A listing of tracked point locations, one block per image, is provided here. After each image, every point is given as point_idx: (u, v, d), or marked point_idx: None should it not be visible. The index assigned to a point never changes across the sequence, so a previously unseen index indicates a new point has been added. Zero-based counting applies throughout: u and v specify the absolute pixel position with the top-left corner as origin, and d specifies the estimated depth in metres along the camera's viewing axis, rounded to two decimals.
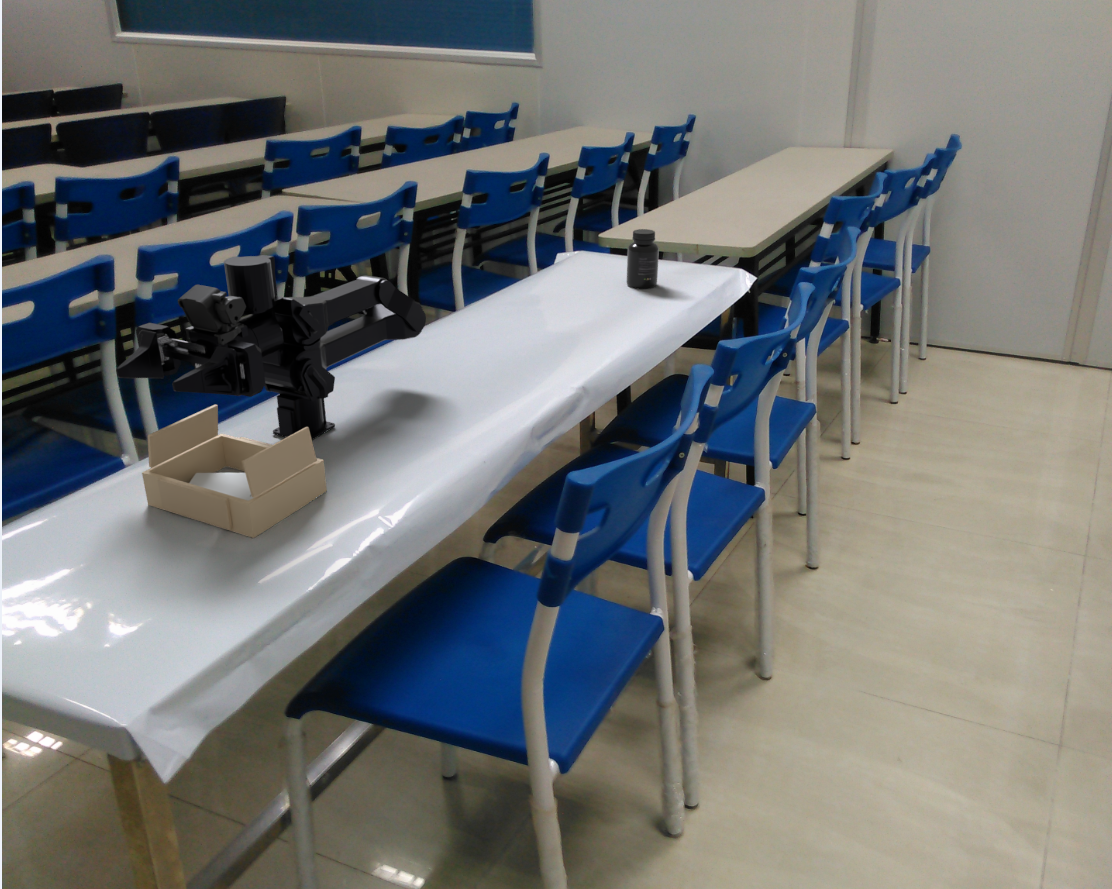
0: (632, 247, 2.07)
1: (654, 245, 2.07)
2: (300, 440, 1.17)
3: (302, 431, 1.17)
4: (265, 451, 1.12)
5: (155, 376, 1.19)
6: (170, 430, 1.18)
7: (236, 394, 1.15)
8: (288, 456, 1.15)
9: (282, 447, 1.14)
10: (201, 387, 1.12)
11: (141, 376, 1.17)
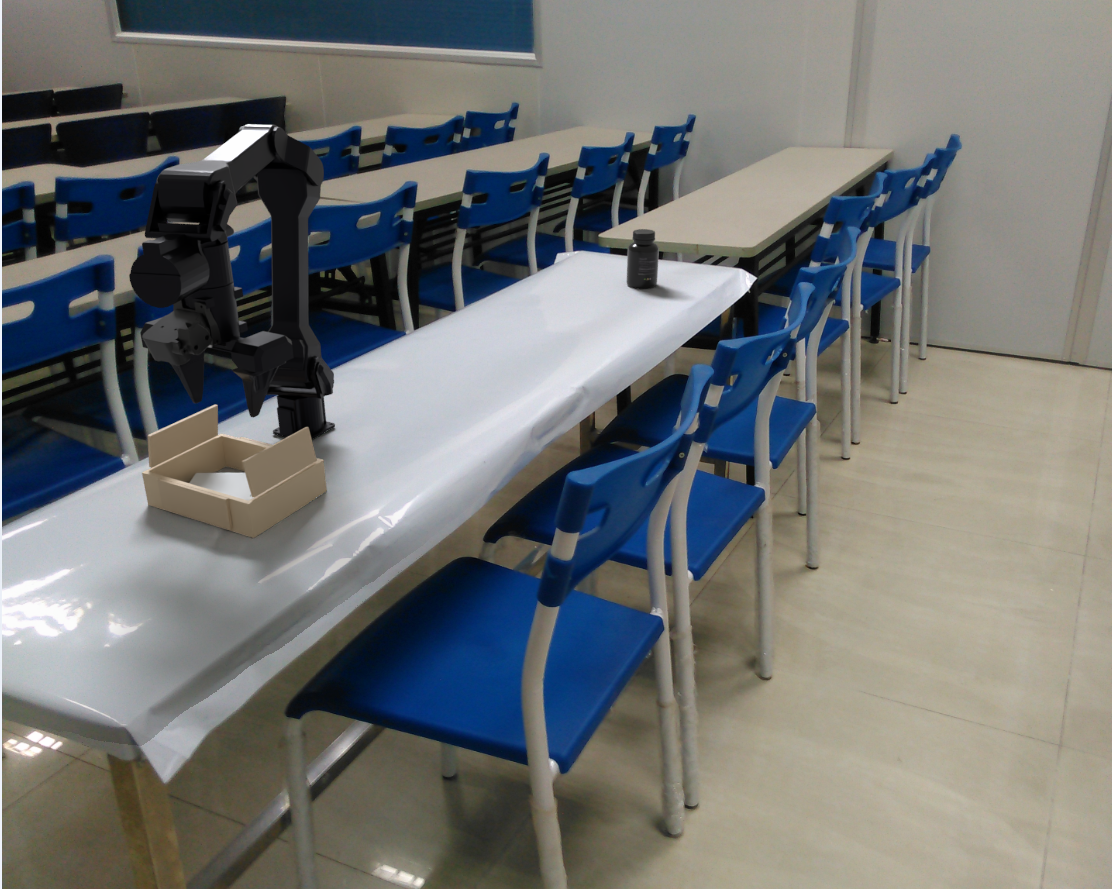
0: (632, 247, 2.07)
1: (654, 245, 2.07)
2: (300, 440, 1.17)
3: (302, 431, 1.17)
4: (265, 451, 1.12)
5: (203, 353, 1.17)
6: (170, 430, 1.18)
7: (283, 362, 1.12)
8: (288, 456, 1.15)
9: (282, 447, 1.14)
10: (264, 391, 1.13)
11: (202, 373, 1.17)
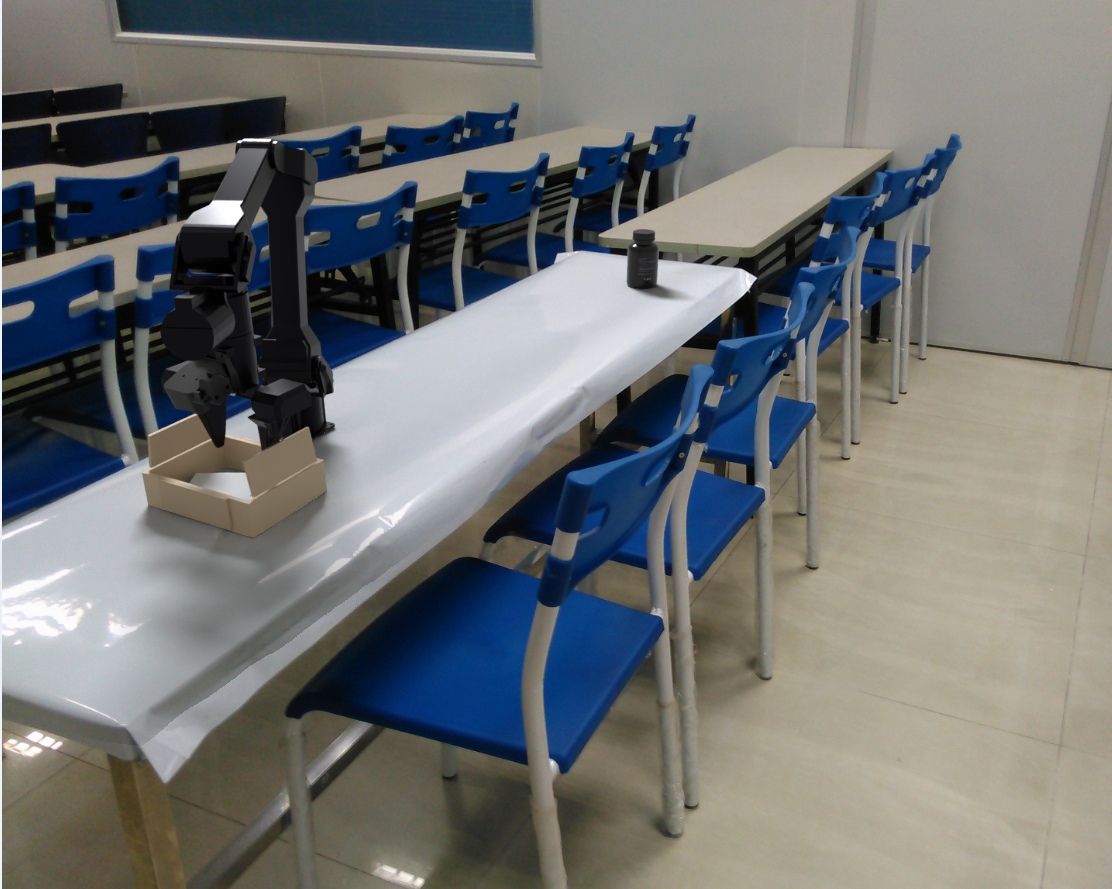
0: (632, 247, 2.07)
1: (654, 245, 2.07)
2: (300, 440, 1.17)
3: (302, 431, 1.17)
4: (265, 451, 1.12)
5: (225, 399, 1.18)
6: (170, 430, 1.18)
7: None
8: (288, 456, 1.15)
9: (282, 447, 1.14)
10: (278, 436, 1.14)
11: (225, 418, 1.18)
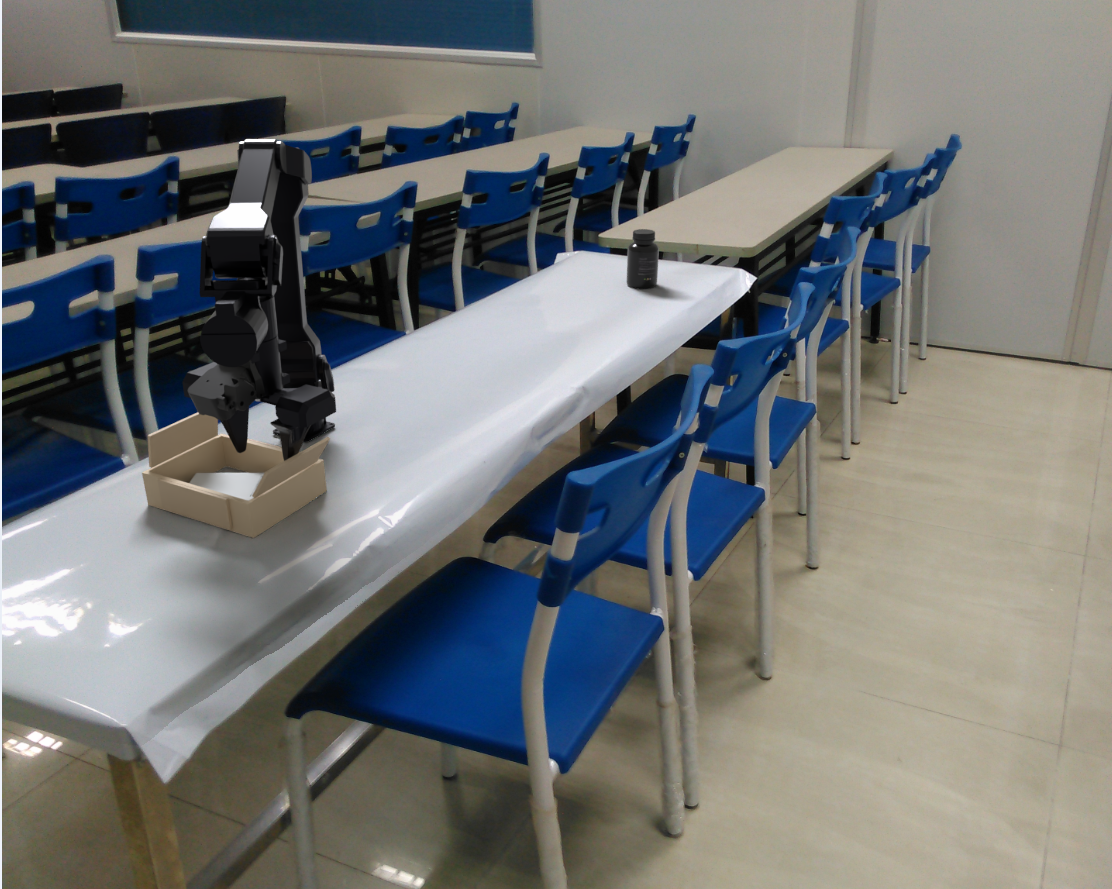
0: (632, 247, 2.07)
1: (654, 245, 2.07)
2: (317, 449, 1.16)
3: (323, 442, 1.16)
4: (287, 463, 1.11)
5: None
6: (170, 430, 1.18)
7: None
8: (299, 463, 1.15)
9: (300, 458, 1.13)
10: (299, 442, 1.13)
11: (247, 423, 1.17)
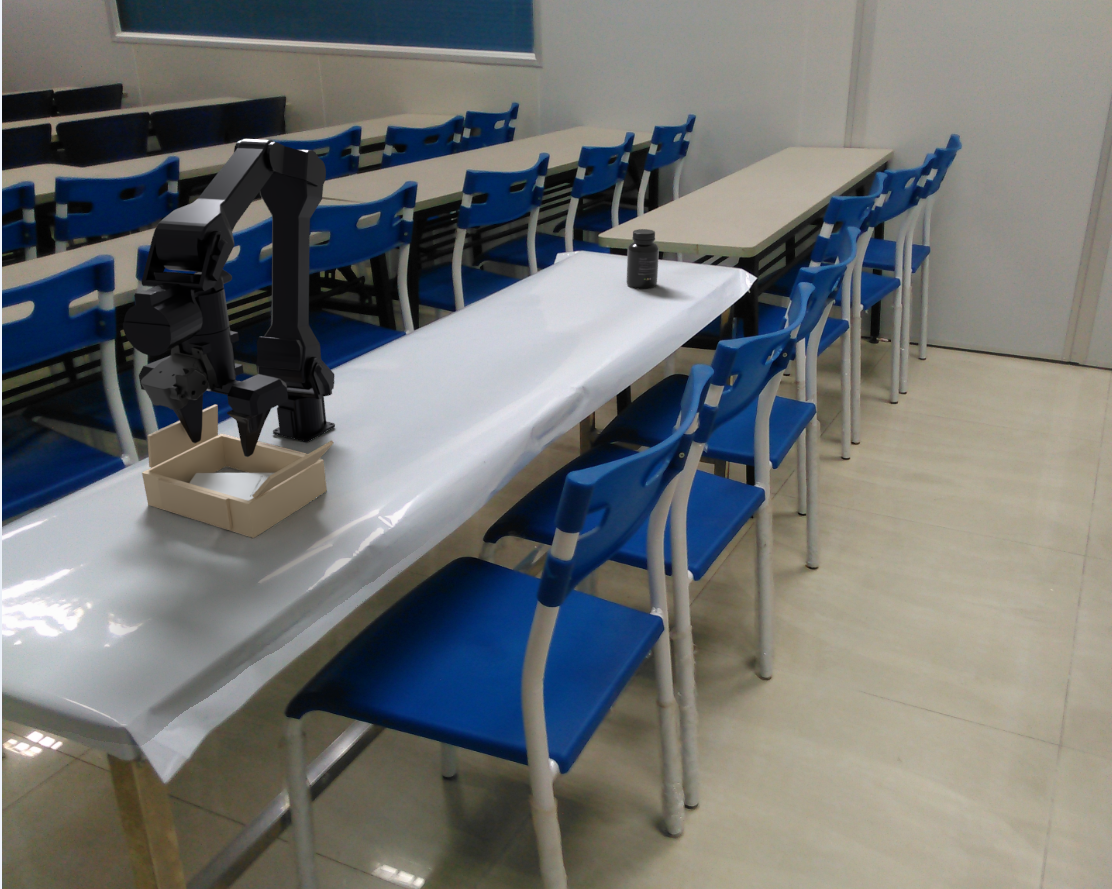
0: (632, 247, 2.07)
1: (654, 245, 2.07)
2: (320, 453, 1.16)
3: (327, 446, 1.16)
4: (291, 467, 1.11)
5: (201, 394, 1.20)
6: (170, 430, 1.18)
7: None
8: (301, 465, 1.15)
9: (304, 461, 1.13)
10: (257, 432, 1.16)
11: (201, 414, 1.20)
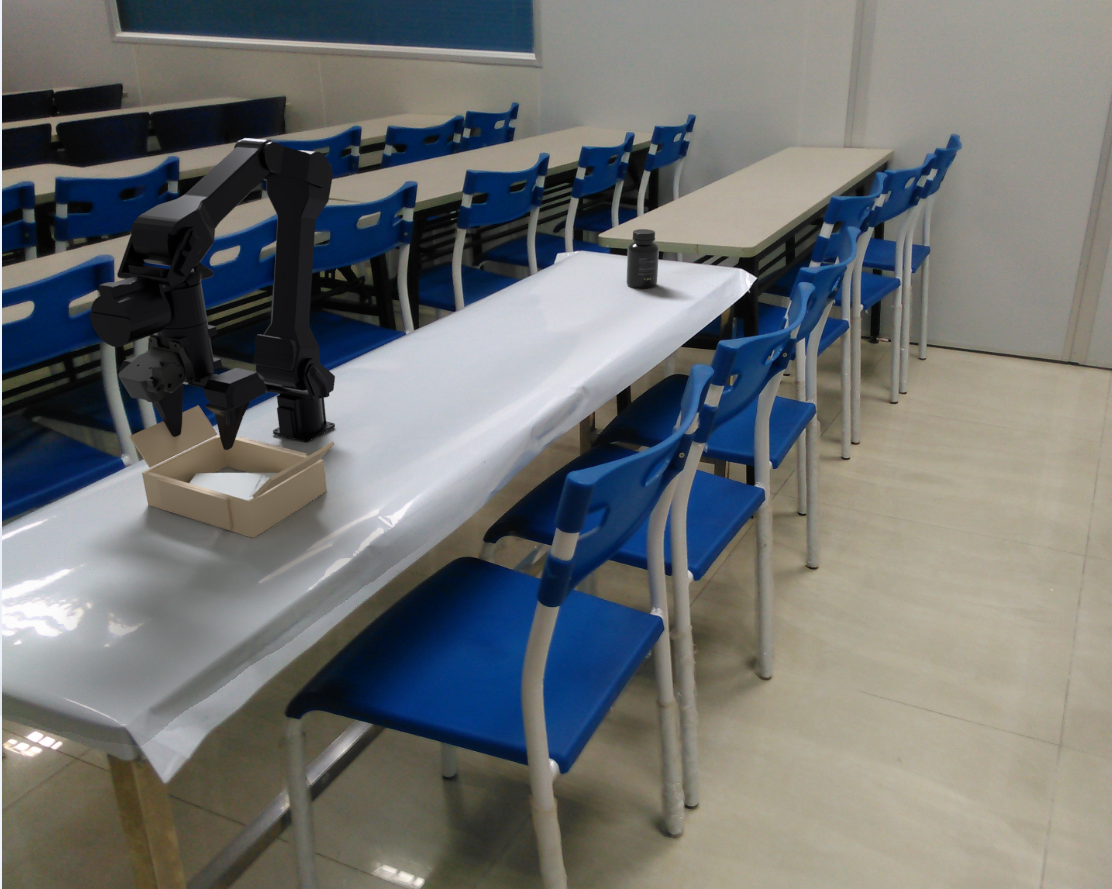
0: (632, 247, 2.07)
1: (654, 245, 2.07)
2: (320, 454, 1.16)
3: (328, 448, 1.16)
4: (292, 469, 1.11)
5: (181, 389, 1.21)
6: (153, 429, 1.19)
7: None
8: (302, 466, 1.15)
9: (304, 462, 1.13)
10: (236, 425, 1.17)
11: (181, 408, 1.21)
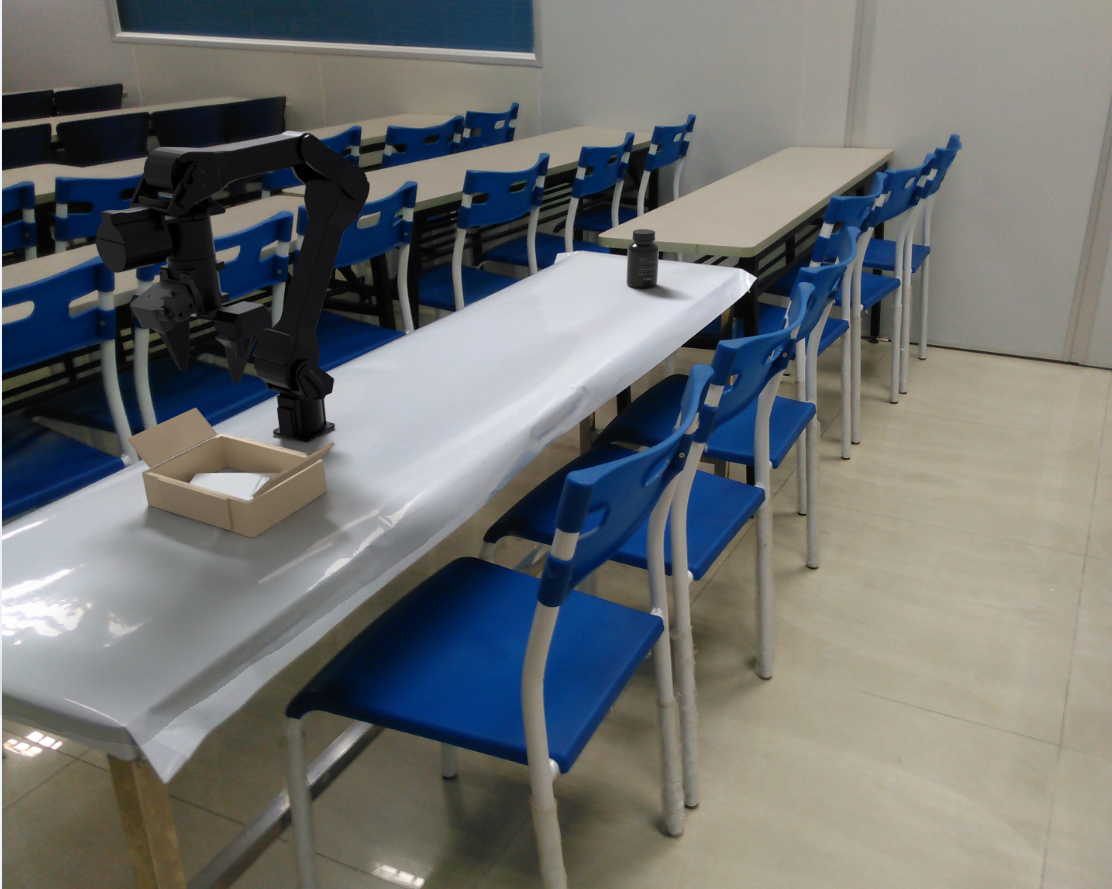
0: (632, 247, 2.07)
1: (654, 245, 2.07)
2: (320, 454, 1.16)
3: (328, 448, 1.16)
4: (292, 469, 1.11)
5: (188, 324, 1.25)
6: (150, 431, 1.20)
7: None
8: (302, 466, 1.15)
9: (304, 462, 1.13)
10: (245, 358, 1.20)
11: (188, 342, 1.25)
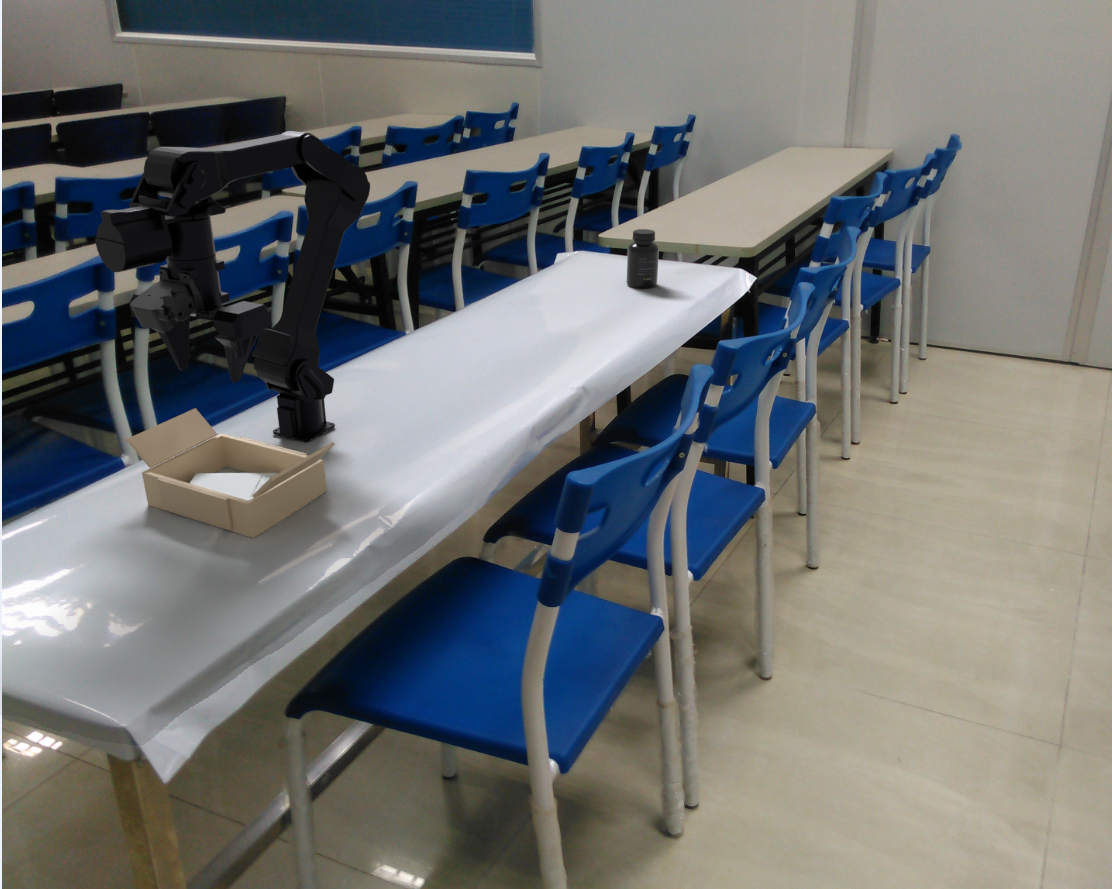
0: (632, 247, 2.07)
1: (654, 245, 2.07)
2: (320, 454, 1.16)
3: (328, 448, 1.16)
4: (292, 469, 1.11)
5: (188, 323, 1.25)
6: (150, 432, 1.20)
7: None
8: (302, 466, 1.15)
9: (304, 462, 1.13)
10: (244, 358, 1.20)
11: (188, 342, 1.25)
